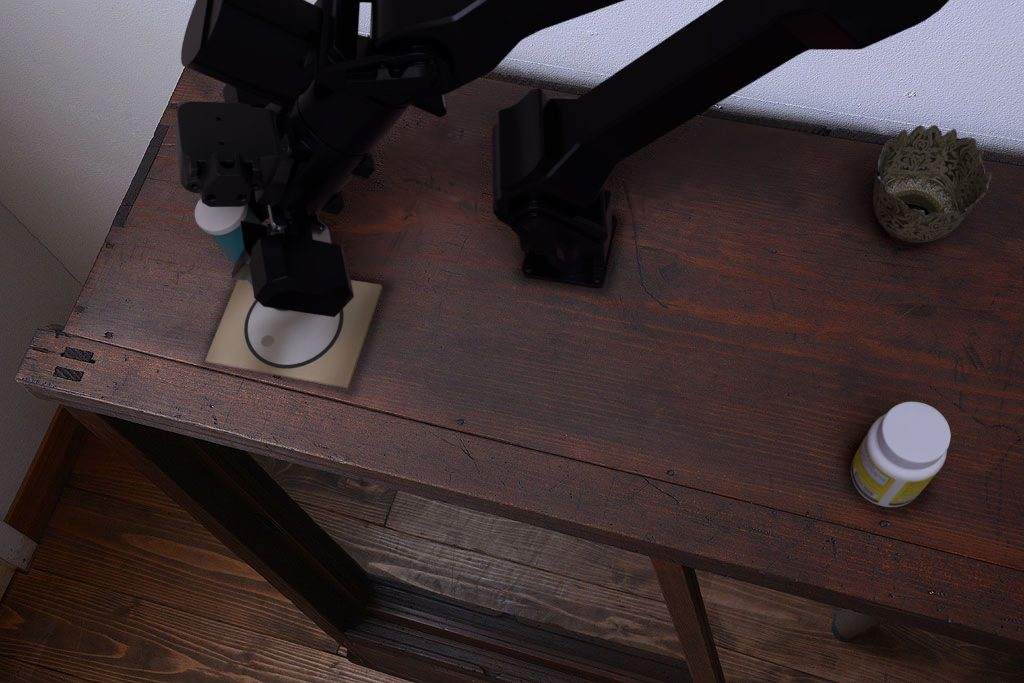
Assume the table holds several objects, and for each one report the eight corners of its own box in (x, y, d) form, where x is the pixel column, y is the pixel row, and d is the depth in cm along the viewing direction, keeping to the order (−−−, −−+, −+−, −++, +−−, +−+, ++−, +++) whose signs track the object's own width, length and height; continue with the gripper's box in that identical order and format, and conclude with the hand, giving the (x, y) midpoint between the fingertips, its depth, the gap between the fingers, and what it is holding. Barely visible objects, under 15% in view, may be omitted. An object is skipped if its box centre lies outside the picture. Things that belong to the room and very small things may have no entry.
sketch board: (383, 287, 77) (381, 283, 77) (349, 389, 74) (347, 386, 73) (246, 265, 80) (243, 261, 79) (206, 362, 76) (203, 359, 76)
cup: (965, 269, 72) (1001, 209, 65) (863, 273, 73) (887, 214, 66) (948, 186, 76) (980, 120, 68) (850, 190, 76) (872, 126, 69)
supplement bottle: (927, 453, 67) (964, 407, 59) (916, 517, 65) (953, 478, 57) (856, 434, 68) (883, 386, 60) (842, 496, 66) (869, 456, 58)
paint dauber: (296, 265, 78) (232, 177, 67) (316, 297, 76) (252, 212, 65) (258, 289, 78) (186, 204, 67) (276, 321, 76) (206, 240, 65)
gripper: (200, -27, 61) (114, 132, 70) (235, 212, 52) (132, 355, 62) (354, 30, 68) (257, 167, 77) (408, 248, 59) (291, 371, 69)
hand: (234, 256), depth 71 cm, fingers closed on paint dauber, 3 cm apart
